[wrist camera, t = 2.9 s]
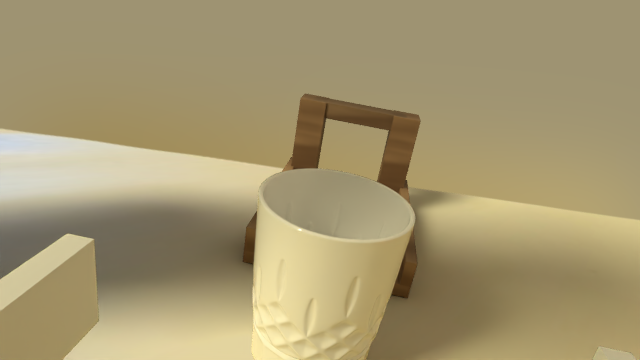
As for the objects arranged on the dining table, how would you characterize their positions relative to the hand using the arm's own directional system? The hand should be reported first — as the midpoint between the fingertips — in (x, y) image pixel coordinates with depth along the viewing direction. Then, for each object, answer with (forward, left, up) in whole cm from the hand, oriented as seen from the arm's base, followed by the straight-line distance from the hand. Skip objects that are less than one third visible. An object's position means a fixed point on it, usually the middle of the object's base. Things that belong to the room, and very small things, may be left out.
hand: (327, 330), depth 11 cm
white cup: (-5, +9, -11) cm, 15 cm away
